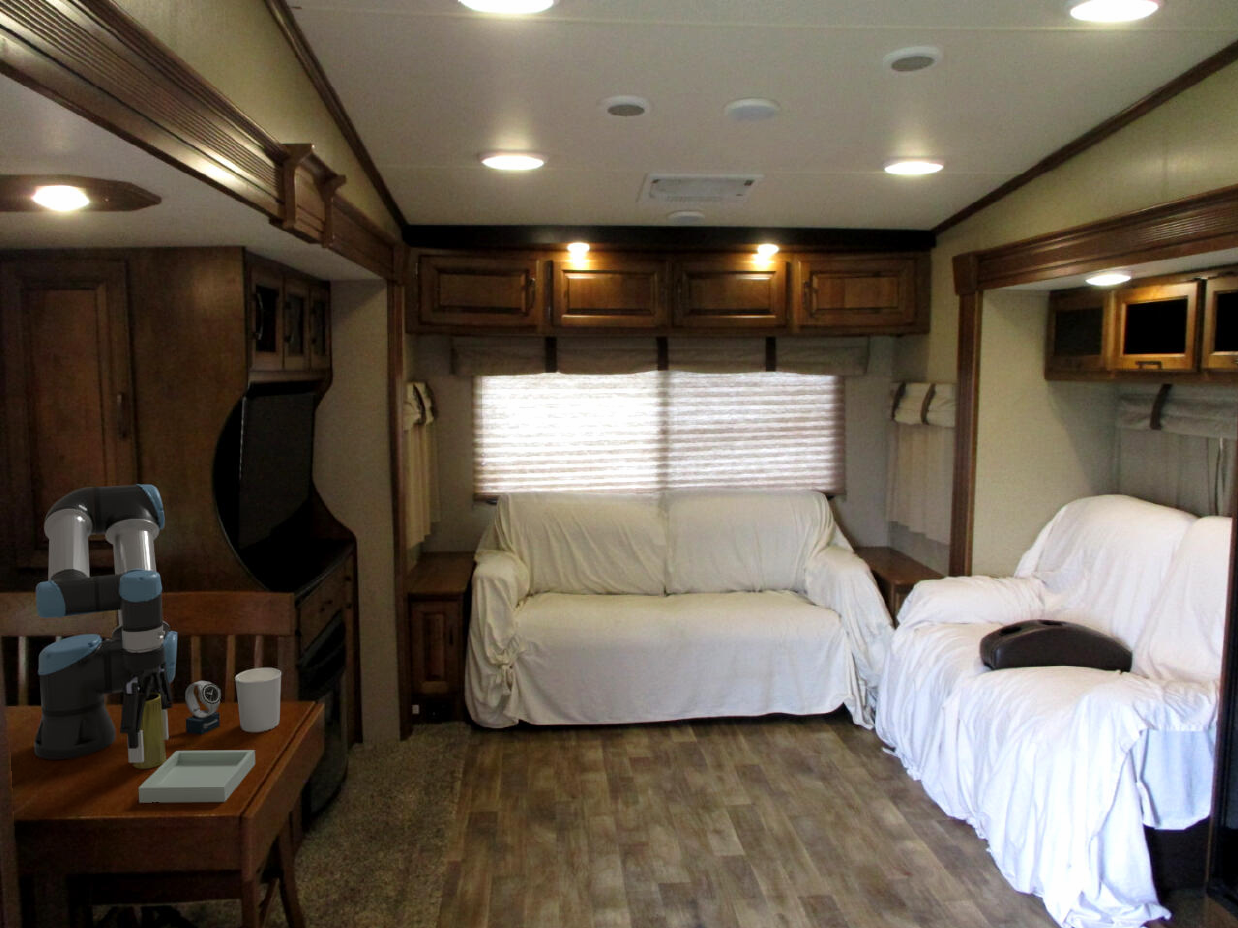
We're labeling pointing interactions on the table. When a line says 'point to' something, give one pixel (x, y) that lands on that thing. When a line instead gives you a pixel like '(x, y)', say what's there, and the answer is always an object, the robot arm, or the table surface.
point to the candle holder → (259, 698)
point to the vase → (152, 733)
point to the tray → (197, 776)
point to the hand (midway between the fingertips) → (149, 749)
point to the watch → (204, 719)
